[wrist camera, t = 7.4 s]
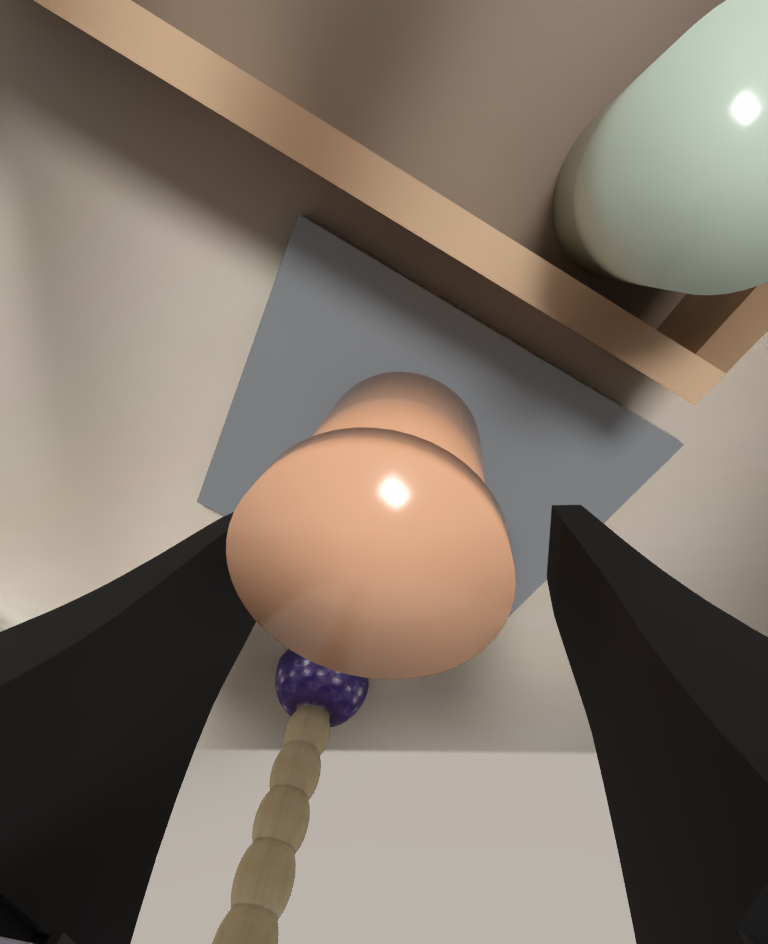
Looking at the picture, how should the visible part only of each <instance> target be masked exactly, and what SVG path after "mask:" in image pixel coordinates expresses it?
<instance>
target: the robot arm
mask: <svg viewBox="0 0 768 944" xmlns="http://www.w3.org/2000/svg"><path fill="white" fill-rule="evenodd" d="M233 513H234V512H232V513H230V514H228V515H226V516H224V517H222V518H220V519H219V520H217V521H215V522H213V523H212V524H210V525H208V526H206V527H205V528H203V529H201V530H200V531H198V532H196V533H195V534H193V535H191V536H190V537H188V538H186V539H185V540H183V541H181V542H180V543H178V544H176V545H175V546H173V547H171V548H170V549H168V550H167V551H165V552H163V553H162V554H160V555H158V556H156V557H155V558H153V559H151V560H149V561H148V562H146V563H144V564H142V565H140V566H139V567H137V568H135V569H133V570H132V571H130V572H128V573H126V574H124V575H123V576H121V577H119V578H117V579H116V580H114V581H112V582H110V583H108V584H106V585H104V586H102V587H100V588H98V589H96V590H94V591H92V592H90V593H88V594H86V595H84V596H82V597H80V598H78V599H76V600H74V601H71V602H69V603H67V604H65V605H63V606H61V607H59V608H56V609H54V610H52V611H49V612H47V613H45V614H42V615H40V616H38V617H35V618H33V619H30V620H28V621H26V622H23V623H21V624H18V625H16V626H14V627H11V628H9V629H7V630H4V631H2V632H0V944H130V943H131V939H132V936H133V932H134V929H135V925H136V922H137V918H138V915H139V912H140V909H141V905H142V902H143V899H144V896H145V892H146V889H147V886H148V883H149V879H150V876H151V873H152V870H153V866H154V863H155V860H156V856H157V853H158V851H159V848H160V845H161V842H162V839H163V836H164V833H165V830H166V827H167V824H168V821H169V818H170V815H171V813H172V810H173V807H174V803H175V801H176V798H177V795H178V793H179V790H180V787H181V784H182V782H183V779H184V777H185V774H186V771H187V769H188V766H189V763H190V761H191V758H192V755H193V753H194V750H195V748H196V745H197V743H198V740H199V738H200V735H201V733H202V730H203V728H204V726H205V723H206V721H207V718H208V716H209V713H210V711H211V708H212V706H213V704H214V702H215V700H216V698H217V696H218V694H219V692H220V689H221V687H222V685H223V684H224V682H225V680H226V678H227V676H228V674H229V672H230V670H231V668H232V667H233V665H234V663H235V661H236V659H237V657H238V655H239V653H240V651H241V650H242V648H243V646H244V644H245V642H246V640H247V638H248V636H249V634H250V632H251V630H252V629H253V627H254V625H255V623H256V620H255V619H254V618H253V617H252V615H251V614H250V613H249V611H248V610H247V609H246V607H245V606H244V604H243V603H242V601H241V599H240V598H239V596H238V594H237V592H236V589H235V587H234V585H233V583H232V580H231V577H230V573H229V570H228V565H227V557H226V538H227V533H228V528H229V524H230V521H231V519H232V516H233ZM547 580H548V586H549V591H550V597H551V602H552V607H553V612H554V616H555V619H556V623H557V626H558V629H559V632H560V635H561V638H562V641H563V644H564V647H565V650H566V653H567V656H568V660H569V663H570V666H571V669H572V672H573V675H574V678H575V681H576V684H577V687H578V690H579V693H580V696H581V699H582V702H583V705H584V708H585V711H586V714H587V718H588V721H589V725H590V728H591V732H592V735H593V739H594V744H595V748H596V752H597V757H598V761H599V766H600V769H601V774H602V779H603V783H604V787H605V792H606V796H607V801H608V806H609V811H610V815H611V820H612V825H613V829H614V834H615V838H616V843H617V848H618V853H619V858H620V863H621V868H622V873H623V877H624V883H625V888H626V892H627V898H628V903H629V907H630V913H631V917H632V922H633V928H634V932H635V938H636V943H637V944H768V637H766V636H764V635H763V634H761V633H759V632H757V631H756V630H754V629H752V628H750V627H749V626H747V625H745V624H744V623H742V622H741V621H739V620H737V619H736V618H734V617H732V616H731V615H729V614H727V613H726V612H724V611H722V610H721V609H719V608H717V607H716V606H714V605H713V604H711V603H710V602H708V601H706V600H705V599H703V598H702V597H700V596H699V595H697V594H696V593H694V592H693V591H691V590H690V589H688V588H687V587H686V586H684V585H683V584H681V583H680V582H678V581H677V580H676V579H674V578H673V577H671V576H670V575H668V574H667V573H666V572H664V571H663V570H661V569H660V568H659V567H657V566H656V565H655V564H653V563H652V562H651V561H649V560H648V559H647V558H645V557H644V556H643V555H642V554H640V553H639V552H638V551H636V550H635V549H634V548H633V547H631V546H630V545H629V544H628V543H626V542H625V541H624V540H623V539H621V538H620V537H619V536H618V535H617V534H615V533H614V532H613V531H612V530H611V529H609V528H608V527H607V526H606V525H605V524H603V523H602V522H601V521H600V520H599V519H598V518H596V517H595V516H594V515H593V514H592V513H590V512H589V511H588V510H587V509H586V508H584V507H583V506H582V505H552V510H551V523H550V537H549V551H548V565H547Z"/></svg>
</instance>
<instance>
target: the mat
mask: <svg viewBox="0 0 768 944" xmlns="http://www.w3.org/2000/svg"><path fill="white" fill-rule="evenodd" d="M389 372H409V373H416V374H420V375H424V376H427V377H430V378H432V379H435V380H437V381H439V382H440V383H442V384H444V385H446V386H447V387H448V388H450V389H451V390H452V391H454V392H455V393H456V394H457V395H458V396H459V397H460V398H461V399H462V400H463V401H464V403H465V404H466V405H467V406H468V408H469V410H470V411H471V413H472V415H473V417H474V419H475V422H476V424H477V427H478V431H479V435H480V443H481V451H482V459H483V467H484V475H485V482H486V485H487V487H488V488H489V489H490V491H491V492H492V494H493V496H494V497H495V499H496V501H497V502H498V504H499V506H500V509H501V511H502V514H503V516H504V518H505V522H506V526H507V531H508V535H509V541H510V546H511V551H512V557H513V562H514V568H515V582H516V586H515V595H514V601H513V604H512V608H511V611H510V614H509V616H510V615H511V614H512V613H513V612H514V611H515V610H516V609H517V608H518V607H519V606H520V605H521V604H522V603H523V602H524V601H525V600H526V599H527V598H528V597H529V596H530V595H531V594H532V593H533V592H534V591H535V590H536V589H537V588H539V587H540V586H541V585H542V584H543V583H544V582H545V581H546V580H547V565H548V551H549V537H550V523H551V510H552V505H582V506H583V507H584V508H586V509H587V510H588V511H589V512H590V513H592V514H593V515H594V516H595V517H596V518H598V519H599V520H600V521H601V522H602V523H603V524H604V523H605V522H606V521H607V520H608V519H609V518H610V517H611V516H612V515H613V514H614V513H615V512H616V511H617V510H618V509H619V508H620V507H621V506H622V505H623V504H624V503H625V502H626V501H627V500H628V499H629V498H630V497H631V496H632V495H633V494H634V493H635V492H636V491H637V490H638V489H639V488H640V487H641V486H642V485H643V484H644V483H645V482H646V481H647V480H648V479H649V478H650V477H651V476H652V475H653V474H654V473H655V472H656V471H657V470H658V469H659V468H660V467H661V466H662V465H664V464H665V463H666V462H667V461H668V460H669V459H670V458H671V457H672V456H673V455H674V454H675V453H676V452H677V451H678V450H679V449H680V448H681V447H682V446H683V445H684V444H682V443H681V442H680V441H679V440H678V439H676V438H675V437H673V436H671V435H670V434H668V433H666V432H665V431H663V430H661V429H660V428H658V427H656V426H655V425H653V424H651V423H650V422H648V421H646V420H645V419H643V418H641V417H640V416H638V415H636V414H635V413H633V412H631V411H629V410H628V409H626V408H624V407H623V406H621V405H619V404H618V403H616V402H614V401H613V400H611V399H609V398H608V397H606V396H604V395H603V394H601V393H599V392H598V391H596V390H594V389H593V388H591V387H589V386H588V385H586V384H584V383H583V382H581V381H579V380H578V379H576V378H574V377H573V376H571V375H569V374H568V373H566V372H564V371H563V370H561V369H559V368H558V367H556V366H554V365H553V364H551V363H549V362H548V361H546V360H544V359H543V358H541V357H539V356H538V355H536V354H534V353H533V352H531V351H529V350H528V349H526V348H524V347H523V346H521V345H519V344H518V343H516V342H514V341H513V340H511V339H509V338H508V337H506V336H504V335H503V334H501V333H499V332H497V331H496V330H494V329H492V328H491V327H489V326H487V325H486V324H484V323H482V322H481V321H479V320H477V319H476V318H474V317H472V316H471V315H469V314H467V313H466V312H464V311H462V310H461V309H459V308H457V307H456V306H454V305H452V304H451V303H449V302H447V301H446V300H444V299H442V298H441V297H439V296H437V295H436V294H434V293H432V292H431V291H429V290H427V289H426V288H424V287H422V286H421V285H419V284H417V283H416V282H414V281H412V280H411V279H409V278H407V277H406V276H404V275H402V274H401V273H399V272H397V271H396V270H394V269H392V268H391V267H389V266H387V265H386V264H384V263H382V262H381V261H379V260H377V259H376V258H374V257H372V256H371V255H369V254H367V253H365V252H364V251H362V250H360V249H359V248H357V247H355V246H354V245H352V244H350V243H349V242H347V241H345V240H344V239H342V238H340V237H339V236H337V235H335V234H334V233H332V232H330V231H329V230H327V229H325V228H324V227H322V226H320V225H319V224H317V223H315V222H314V221H312V220H310V219H309V218H307V217H305V216H304V215H300V214H298V217H297V220H296V223H295V225H294V228H293V231H292V234H291V237H290V240H289V242H288V245H287V248H286V251H285V254H284V257H283V260H282V262H281V265H280V268H279V271H278V274H277V277H276V279H275V282H274V285H273V288H272V291H271V294H270V296H269V299H268V302H267V305H266V308H265V311H264V313H263V316H262V319H261V322H260V325H259V328H258V330H257V333H256V336H255V339H254V342H253V345H252V347H251V350H250V353H249V356H248V359H247V362H246V364H245V367H244V370H243V373H242V376H241V379H240V381H239V384H238V387H237V390H236V393H235V396H234V398H233V401H232V404H231V407H230V410H229V413H228V415H227V418H226V421H225V424H224V427H223V430H222V432H221V435H220V438H219V441H218V444H217V447H216V449H215V452H214V455H213V458H212V461H211V464H210V466H209V469H208V472H207V475H206V478H205V481H204V483H203V486H202V489H201V492H200V495H199V498H198V500H197V502H198V503H200V504H202V505H204V506H206V507H208V508H210V509H212V510H214V511H216V512H218V513H220V514H222V515H224V516H226V515H228V514H230V513H232V512H234V511H235V509H236V507H237V506H238V504H239V503H240V501H241V499H242V498H243V496H244V495H245V494H246V493H247V492H248V490H249V489H250V488H251V487H252V486H253V485H254V483H255V482H256V481H257V480H258V479H259V478H260V476H261V475H262V474H263V473H264V472H265V471H266V469H267V468H268V467H269V466H270V465H271V464H272V463H273V462H274V460H275V459H276V458H278V457H279V456H280V455H281V454H283V453H284V452H285V451H286V450H287V449H289V448H291V447H292V446H294V445H296V444H297V443H299V442H301V441H303V440H305V439H308V438H310V437H311V436H312V435H313V434H314V432H315V431H316V430H317V428H318V427H319V426H320V424H321V423H322V422H323V421H324V419H325V418H326V417H327V415H328V414H329V413H330V411H331V410H332V409H333V407H334V406H335V405H336V404H337V402H338V401H339V400H340V399H341V397H342V396H343V395H344V394H345V393H346V392H347V391H348V390H350V389H351V388H352V387H353V386H355V385H356V384H358V383H359V382H361V381H363V380H365V379H367V378H370V377H372V376H375V375H379V374H383V373H389ZM509 616H508V617H509Z"/></svg>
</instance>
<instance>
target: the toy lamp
mask: <svg viewBox="0 0 768 944" xmlns="http://www.w3.org/2000/svg"><path fill="white" fill-rule="evenodd" d="M368 687H369V684H368V678H365V677H359V676H354V675H349V674H345V673H342V672H338V671H334V670H332V669H329V668H326V667H323V666H321V665H318V664H316V663H314V662H312V661H310V660H308V659H305V658H303V657H302V656H300V655H298V654H296V653H295V652H293V651H291V650H288V651H287V652H286V653H285V654H284V655H283V656H282V657H281V659H280V661H279V664H278V667H277V673H276V692H277V695H278V698H279V701H280V703H281V705H282V706H283V708H284V709H285V711H286V712H287V713H288V714H289V715H290V716H291V718H290V720H289V721H288V724H287V726H286V730H285V735H284V746H285V747H284V748H283V749H282V750H281V751H280V753H279V754H278V756H277V758H276V760H275V762H274V765H273V768H272V772H271V776H270V791H269V792H268V793H267V794H266V796H265V797H264V799H263V800H262V802H261V804H260V806H259V808H258V811H257V813H256V817H255V820H254V825H253V835H252V838H253V843H252V844H251V845H250V847H249V848H248V849H247V850H246V852H245V854H244V855H243V857H242V859H241V861H240V863H239V866H238V868H237V871H236V874H235V878H234V881H233V886H232V892H231V909H230V911H229V912H228V914H227V915H226V917H225V918H224V919H223V921H222V923H221V924H220V926H219V928H218V930H217V933H216V935H215V938H214V940H213V943H212V944H278V922H277V921H278V919H279V917H280V916H281V914H282V913H283V911H284V909H285V907H286V905H287V902H288V900H289V898H290V895H291V891H292V888H293V883H294V878H295V856H294V855H295V853H296V852H297V850H298V849H299V848H300V846H301V844H302V842H303V840H304V837H305V834H306V831H307V827H308V822H309V812H310V811H309V803H308V800H309V799H310V798H311V796H312V794H313V793H314V791H315V789H316V787H317V784H318V780H319V776H320V768H321V761H320V755H321V754H322V752H323V751H324V749H325V747H326V745H327V743H328V739H329V735H330V727H334V726H337V725H339V724H342V723H344V722H345V721H347V720H348V719H350V718H351V717H352V716H353V715H354V714H355V713H356V712H357V711H358V710H359V708H360V706H361V705H362V703H363V701H364V699H365V697H366V694H367V691H368Z"/></svg>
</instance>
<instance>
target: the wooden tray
mask: <svg viewBox="0 0 768 944" xmlns="http://www.w3.org/2000/svg"><path fill="white" fill-rule="evenodd" d="M34 1H35V2H37V3H38V4H40V5H42V6H43V7H45V8H47V9H48V10H50V11H52V12H53V13H55V14H56V15H58V16H60V17H61V18H63V19H65V20H66V21H68V22H69V23H71V24H73V25H74V26H76V27H78V28H79V29H81V30H83V31H84V32H86V33H87V34H89V35H91V36H92V37H94V38H96V39H97V40H99V41H101V42H102V43H104V44H105V45H107V46H109V47H110V48H112V49H114V50H115V51H117V52H119V53H120V54H122V55H123V56H125V57H127V58H128V59H130V60H132V61H133V62H135V63H136V64H138V65H140V66H141V67H143V68H145V69H146V70H148V71H150V72H151V73H153V74H154V75H156V76H158V77H159V78H161V79H163V80H164V81H166V82H168V83H169V84H171V85H172V86H174V87H176V88H177V89H179V90H181V91H182V92H184V93H186V94H187V95H189V96H190V97H192V98H194V99H195V100H197V101H199V102H200V103H202V104H203V105H205V106H207V107H208V108H210V109H212V110H213V111H215V112H217V113H218V114H220V115H221V116H223V117H225V118H226V119H228V120H230V121H231V122H233V123H235V124H236V125H238V126H239V127H241V128H243V129H244V130H246V131H248V132H249V133H251V134H253V135H254V136H256V137H257V138H259V139H261V140H262V141H264V142H266V143H267V144H269V145H270V146H272V147H274V148H275V149H277V150H279V151H280V152H282V153H284V154H285V155H287V156H288V157H290V158H292V159H293V160H295V161H297V162H298V163H300V164H302V165H303V166H305V167H306V168H308V169H310V170H311V171H313V172H315V173H316V174H318V175H319V176H321V177H323V178H324V179H326V180H328V181H329V182H331V183H333V184H334V185H336V186H337V187H339V188H341V189H342V190H344V191H346V192H347V193H349V194H351V195H352V196H354V197H355V198H357V199H359V200H360V201H362V202H364V203H365V204H367V205H369V206H370V207H372V208H373V209H375V210H377V211H378V212H380V213H382V214H383V215H385V216H386V217H388V218H390V219H391V220H393V221H395V222H396V223H398V224H400V225H401V226H403V227H404V228H406V229H408V230H409V231H411V232H413V233H414V234H416V235H418V236H419V237H421V238H422V239H424V240H426V241H427V242H429V243H431V244H432V245H434V246H436V247H437V248H439V249H440V250H442V251H444V252H445V253H447V254H449V255H450V256H452V257H453V258H455V259H457V260H458V261H460V262H462V263H463V264H465V265H467V266H468V267H470V268H471V269H473V270H475V271H476V272H478V273H480V274H481V275H483V276H485V277H486V278H488V279H489V280H491V281H493V282H494V283H496V284H498V285H499V286H501V287H503V288H504V289H506V290H507V291H509V292H511V293H512V294H514V295H516V296H517V297H519V298H520V299H522V300H524V301H525V302H527V303H529V304H530V305H532V306H534V307H535V308H537V309H538V310H540V311H542V312H543V313H545V314H547V315H548V316H550V317H552V318H553V319H555V320H556V321H558V322H560V323H561V324H563V325H565V326H566V327H568V328H570V329H571V330H573V331H574V332H576V333H578V334H579V335H581V336H583V337H584V338H586V339H587V340H589V341H591V342H592V343H594V344H596V345H597V346H599V347H601V348H602V349H604V350H605V351H607V352H609V353H610V354H612V355H614V356H615V357H617V358H619V359H620V360H622V361H623V362H625V363H627V364H628V365H630V366H632V367H633V368H635V369H637V370H638V371H640V372H641V373H643V374H645V375H646V376H648V377H650V378H651V379H653V380H654V381H656V382H658V383H659V384H661V385H663V386H664V387H666V388H668V389H669V390H671V391H672V392H674V393H676V394H677V395H679V396H681V397H682V398H684V399H686V400H687V401H689V402H690V403H692V404H694V405H695V404H696V403H697V402H698V401H699V400H700V399H701V398H702V397H703V396H704V395H705V394H706V393H707V392H708V391H709V390H710V389H711V388H712V387H713V386H714V385H715V384H716V383H717V382H718V381H719V380H720V379H721V378H722V377H723V376H724V375H725V374H726V373H727V372H728V371H729V370H730V369H731V368H732V367H733V366H734V365H735V363H736V362H737V361H738V360H739V359H740V358H741V357H742V356H743V355H744V354H745V353H746V352H747V351H748V350H749V349H750V348H751V347H752V346H753V345H754V344H755V343H756V342H757V341H758V340H759V339H760V338H761V337H762V336H763V335H764V334H765V333H766V332H767V331H768V282H766V283H764V284H761V285H758V286H755V287H752V288H749V289H746V290H742V291H738V292H733V293H729V294H719V295H693V294H687V293H681V292H676V291H670V290H665V289H659V288H654V287H648V286H643V285H637V284H632V283H626V282H621V281H615V280H610V279H604V278H600V277H597V276H594V275H592V274H590V273H588V272H586V271H584V270H583V269H581V268H580V267H579V266H577V265H576V264H575V263H574V262H573V261H572V260H571V259H570V258H569V256H568V255H567V254H566V252H565V251H564V249H563V247H562V245H561V243H560V241H559V238H558V235H557V232H556V228H555V223H554V211H553V207H554V195H555V189H556V184H557V180H558V177H559V173H560V170H561V168H562V165H563V163H564V160H565V158H566V156H567V154H568V153H569V151H570V149H571V147H572V145H573V144H574V142H575V141H576V139H577V138H578V136H579V135H580V134H581V132H582V131H583V130H584V129H585V128H586V126H587V125H588V124H589V123H590V122H591V121H592V120H593V119H594V118H595V117H596V116H597V115H598V114H599V113H600V112H601V111H602V110H603V109H604V108H605V107H606V106H608V105H609V104H610V103H611V102H612V101H613V100H614V99H615V98H616V97H617V96H618V95H619V94H620V93H621V92H622V91H624V90H625V89H626V88H627V87H628V86H629V85H630V84H631V83H632V82H633V81H634V80H635V79H636V78H637V77H639V76H640V75H641V74H642V73H643V72H644V71H645V70H646V69H647V68H648V67H649V66H650V65H651V64H652V63H653V62H655V61H656V60H657V59H658V58H659V57H660V56H661V55H662V54H663V53H664V52H665V51H666V50H667V49H668V48H669V47H671V46H672V45H673V44H674V43H675V42H676V41H677V40H678V39H679V38H680V37H681V36H682V35H683V34H684V33H685V32H687V31H688V30H689V29H690V28H691V27H692V26H693V25H694V24H695V23H697V22H698V21H699V20H700V19H701V18H703V17H704V16H705V15H706V14H708V13H709V12H710V11H711V10H713V9H714V8H715V7H717V6H718V5H720V4H721V3H723V2H724V1H726V0H34Z"/></svg>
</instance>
